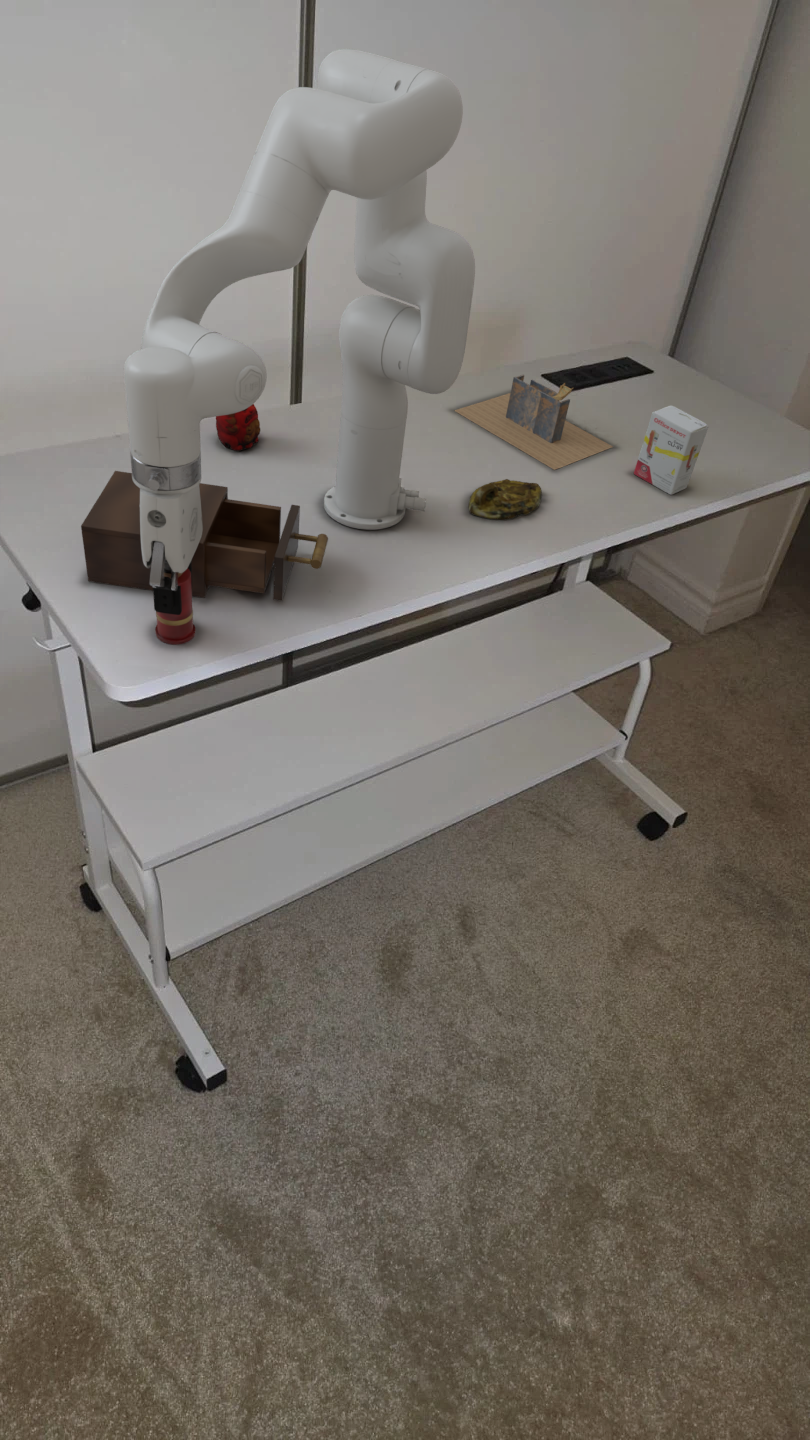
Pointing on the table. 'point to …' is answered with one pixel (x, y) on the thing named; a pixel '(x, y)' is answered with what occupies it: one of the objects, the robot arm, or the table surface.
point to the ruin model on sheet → (535, 423)
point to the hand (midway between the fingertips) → (173, 598)
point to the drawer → (256, 547)
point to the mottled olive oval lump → (505, 499)
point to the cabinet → (136, 535)
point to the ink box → (670, 449)
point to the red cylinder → (178, 626)
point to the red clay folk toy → (239, 429)
